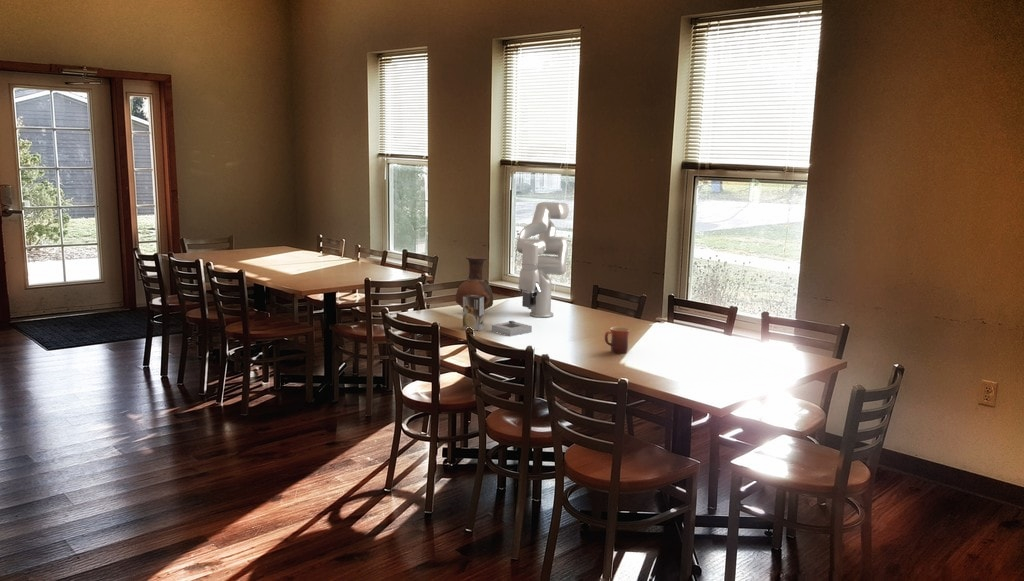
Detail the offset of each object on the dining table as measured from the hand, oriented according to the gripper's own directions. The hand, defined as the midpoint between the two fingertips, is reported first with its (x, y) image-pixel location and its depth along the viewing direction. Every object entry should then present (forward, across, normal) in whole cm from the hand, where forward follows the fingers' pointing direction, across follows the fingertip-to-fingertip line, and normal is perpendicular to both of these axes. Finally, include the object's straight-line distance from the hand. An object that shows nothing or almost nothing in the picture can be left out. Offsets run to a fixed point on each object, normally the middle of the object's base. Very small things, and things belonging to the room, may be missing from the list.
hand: (529, 303), depth 387 cm
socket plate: (+11, +3, -15) cm, 19 cm away
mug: (+10, +60, -6) cm, 61 cm away
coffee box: (+11, -12, -25) cm, 30 cm away
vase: (+13, -39, -1) cm, 41 cm away
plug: (+1, 0, 0) cm, 1 cm away
